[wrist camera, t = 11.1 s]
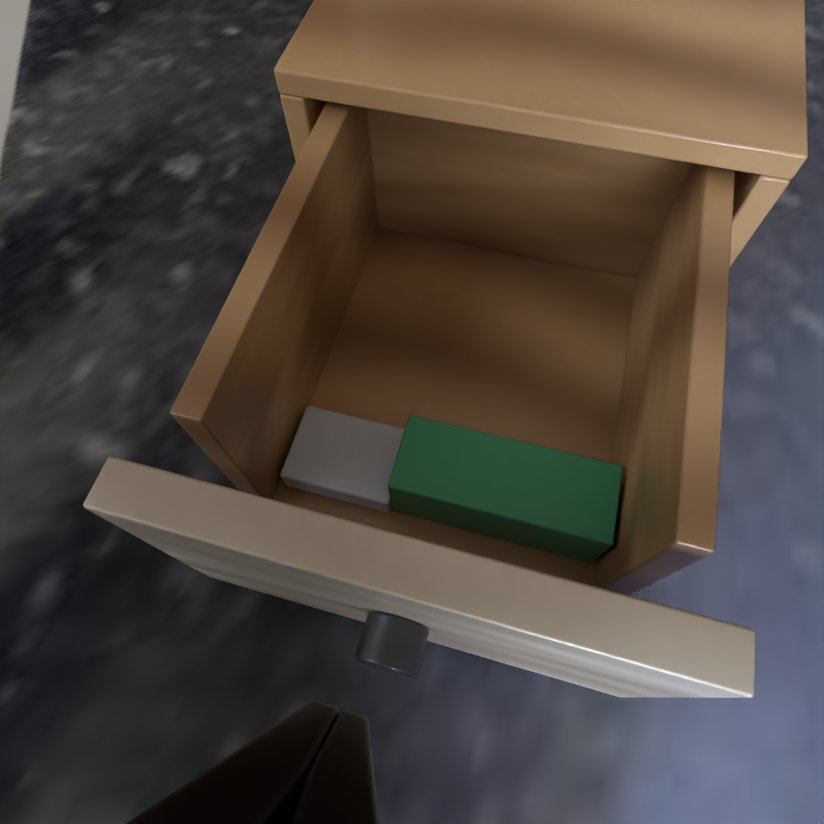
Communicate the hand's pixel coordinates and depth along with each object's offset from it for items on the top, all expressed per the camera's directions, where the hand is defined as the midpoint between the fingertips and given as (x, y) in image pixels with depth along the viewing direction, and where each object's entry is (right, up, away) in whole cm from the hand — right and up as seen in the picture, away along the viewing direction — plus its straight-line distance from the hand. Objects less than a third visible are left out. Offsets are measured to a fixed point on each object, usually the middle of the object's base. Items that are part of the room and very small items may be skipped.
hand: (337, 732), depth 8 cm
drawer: (+3, +4, +13) cm, 14 cm away
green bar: (+2, +2, +11) cm, 11 cm away
